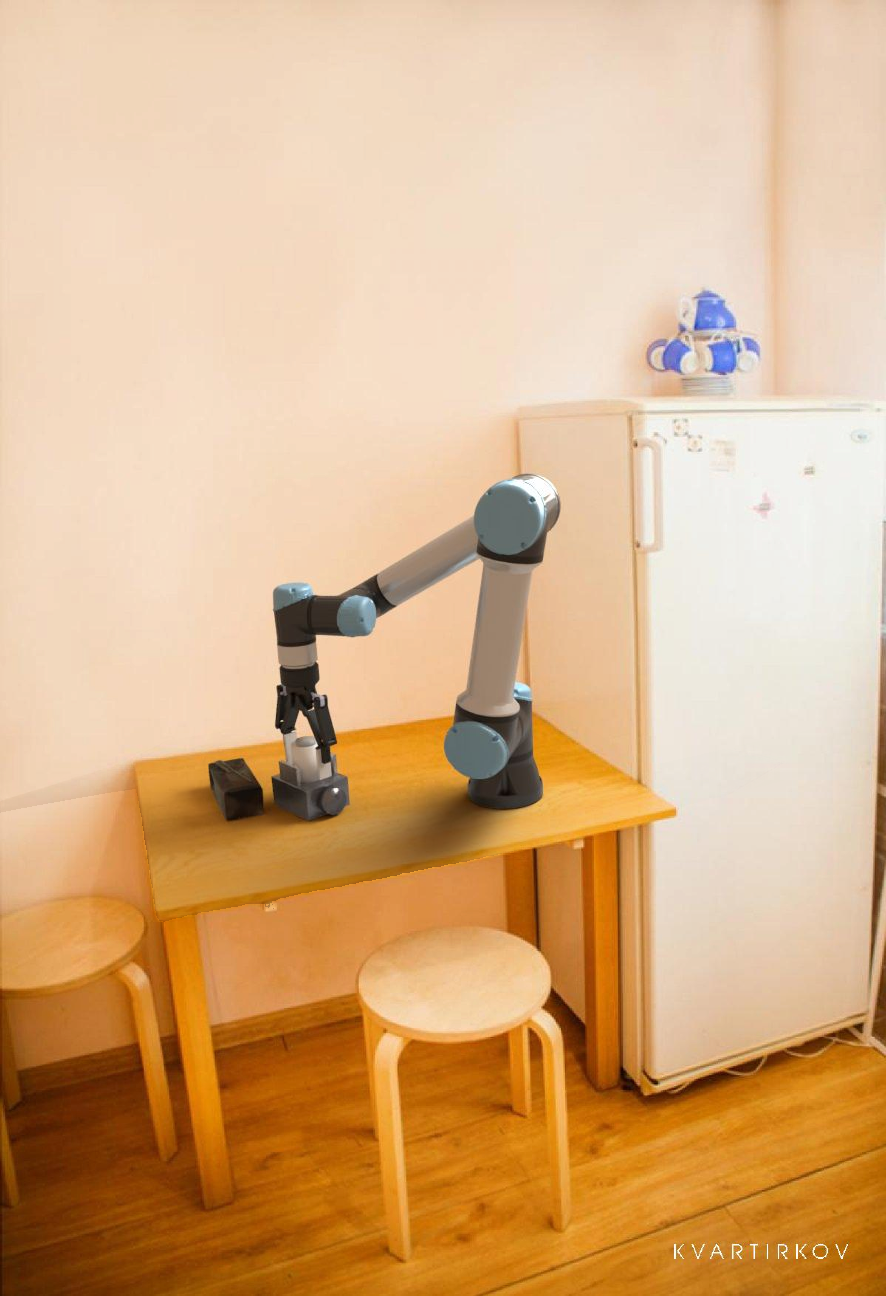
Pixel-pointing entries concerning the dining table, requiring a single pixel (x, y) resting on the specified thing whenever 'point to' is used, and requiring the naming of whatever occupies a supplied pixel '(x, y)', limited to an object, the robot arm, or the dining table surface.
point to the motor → (310, 792)
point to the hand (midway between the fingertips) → (308, 770)
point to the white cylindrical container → (305, 758)
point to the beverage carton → (236, 789)
